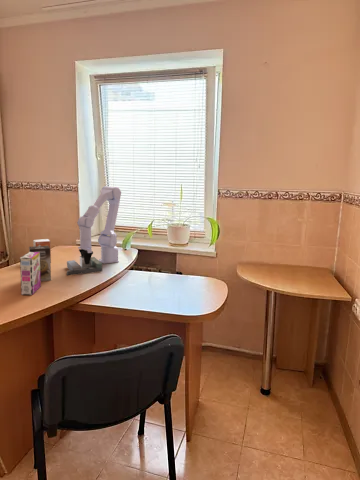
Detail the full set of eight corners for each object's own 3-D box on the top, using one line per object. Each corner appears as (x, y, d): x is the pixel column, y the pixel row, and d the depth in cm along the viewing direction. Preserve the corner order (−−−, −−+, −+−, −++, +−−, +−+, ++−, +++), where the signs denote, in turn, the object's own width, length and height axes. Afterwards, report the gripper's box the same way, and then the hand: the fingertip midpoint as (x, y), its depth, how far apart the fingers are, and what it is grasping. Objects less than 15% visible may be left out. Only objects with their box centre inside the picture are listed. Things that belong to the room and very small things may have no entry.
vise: (94, 264, 189) (94, 256, 188) (102, 271, 178) (102, 263, 177) (61, 268, 180) (61, 260, 179) (67, 275, 168) (67, 266, 167)
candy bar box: (33, 295, 141) (31, 258, 137) (21, 295, 140) (18, 257, 137) (41, 286, 152) (40, 251, 148) (30, 286, 151) (28, 251, 148)
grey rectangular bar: (74, 266, 184) (74, 260, 183) (81, 273, 172) (81, 266, 171) (67, 267, 182) (66, 261, 181) (73, 274, 170) (73, 267, 169)
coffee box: (30, 282, 156) (29, 249, 153) (29, 278, 161) (28, 246, 158) (51, 280, 160) (50, 248, 157) (49, 276, 166) (48, 245, 162)
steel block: (89, 265, 185) (88, 255, 184) (91, 267, 181) (91, 256, 180) (80, 266, 182) (79, 256, 181) (82, 268, 179) (81, 257, 178)
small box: (36, 264, 184) (35, 241, 181) (33, 262, 189) (32, 239, 186) (51, 263, 188) (50, 240, 186) (48, 260, 194) (48, 238, 191)
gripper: (74, 236, 183) (75, 260, 185) (82, 241, 171) (82, 267, 173) (87, 235, 186) (87, 259, 189) (95, 240, 174) (95, 265, 177)
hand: (86, 262), depth 182 cm, fingers closed on steel block, 4 cm apart
